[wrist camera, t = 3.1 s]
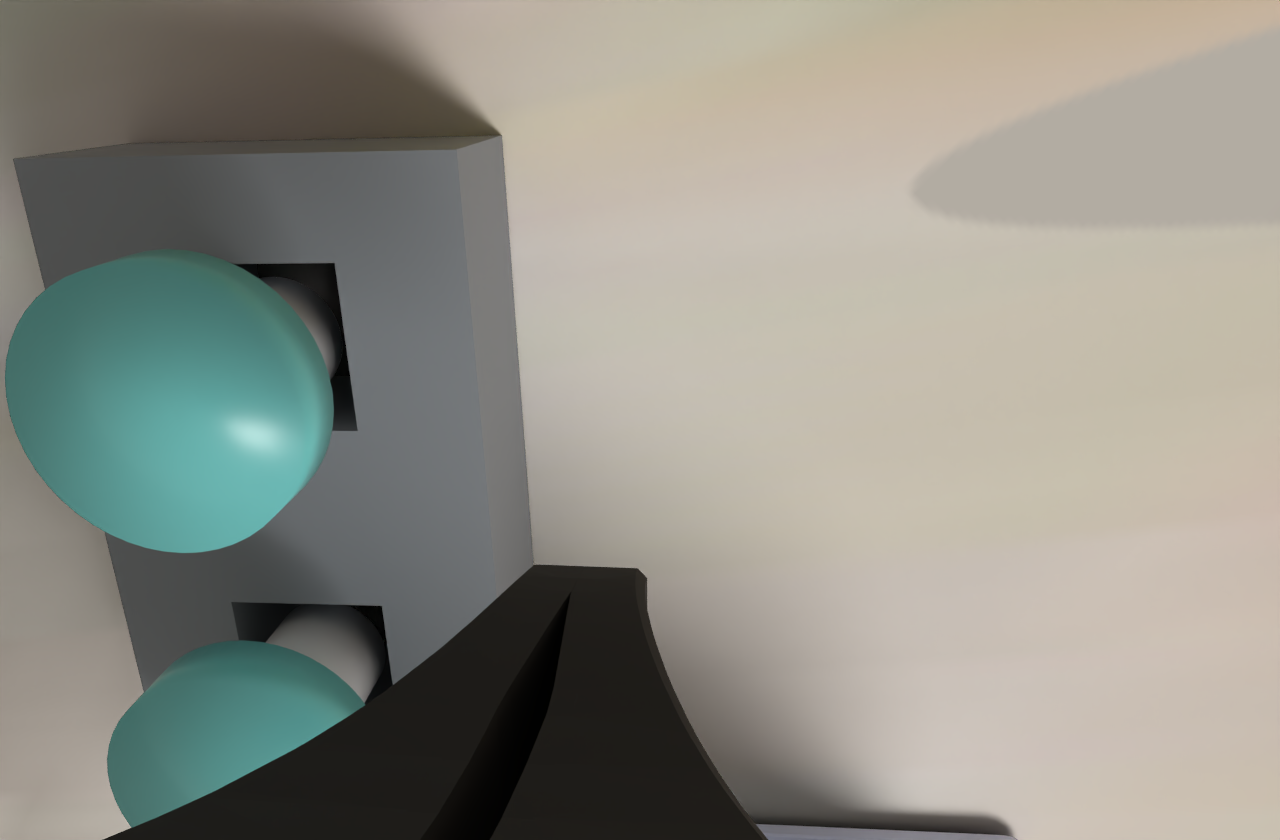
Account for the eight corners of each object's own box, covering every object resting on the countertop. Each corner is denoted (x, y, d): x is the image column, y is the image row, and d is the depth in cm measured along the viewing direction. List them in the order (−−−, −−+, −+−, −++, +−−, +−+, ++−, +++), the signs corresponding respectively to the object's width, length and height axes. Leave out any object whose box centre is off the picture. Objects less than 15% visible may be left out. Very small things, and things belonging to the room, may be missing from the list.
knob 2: (445, 739, 22) (377, 898, 17) (248, 731, 22) (137, 885, 18) (423, 556, 20) (343, 685, 16) (212, 552, 20) (80, 676, 16)
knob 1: (411, 449, 19) (322, 555, 15) (191, 447, 20) (46, 550, 15) (383, 216, 17) (276, 263, 13) (144, 219, 18) (-31, 265, 14)
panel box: (544, 713, 24) (515, 811, 21) (240, 702, 25) (169, 795, 22) (501, 135, 19) (456, 149, 16) (126, 143, 20) (12, 159, 17)
